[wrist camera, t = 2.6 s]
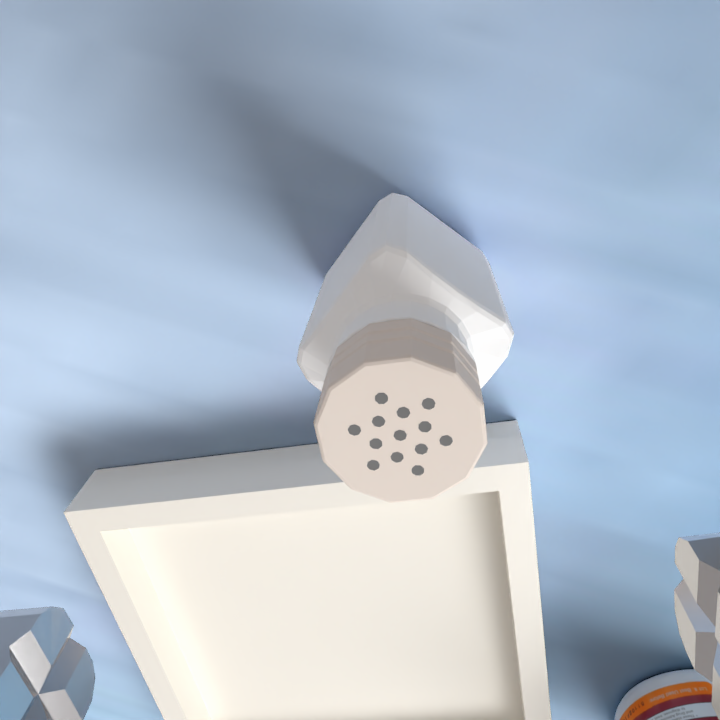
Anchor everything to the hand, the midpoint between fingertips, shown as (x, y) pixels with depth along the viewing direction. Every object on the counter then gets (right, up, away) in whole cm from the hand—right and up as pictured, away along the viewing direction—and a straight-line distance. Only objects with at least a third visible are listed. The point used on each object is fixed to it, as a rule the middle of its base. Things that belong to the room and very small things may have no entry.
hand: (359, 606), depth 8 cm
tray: (-1, -7, +18) cm, 20 cm away
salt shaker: (+1, +6, +12) cm, 13 cm away
